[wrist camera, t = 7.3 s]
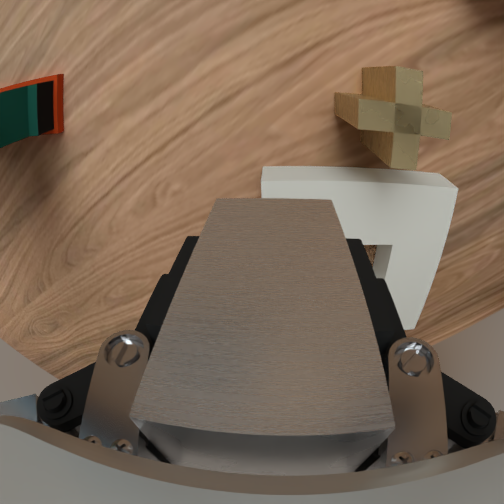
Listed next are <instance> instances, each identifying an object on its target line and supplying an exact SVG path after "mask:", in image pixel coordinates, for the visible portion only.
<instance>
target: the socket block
mask: <svg viewBox="0 0 504 504" xmlns="http://www.w3.org/2000/svg"><path fill="white" fill-rule="evenodd" d="M261 191H262V198H289V199H328V200H332V202H333V205H334V208H335V210H336V213H337V216H338V218H339V221H340V224H341V227H342V229H343V232H344V235H345V238H350V239H361V241H362V243H363V245H377V248H376V253H375V259H374V264H373V271H374V273H375V276H376V278H383V279H384V280H385V282H386V284H387V286H388V289H389V291H390V294H391V296H392V299H393V301H394V304H395V307H396V309H397V312H398V315H399V317H400V320H401V323H402V326H403V329H404V330H409V329H414V328H415V326H416V323H417V321H418V319H419V316H420V314H421V311H422V309H423V306H424V304H425V301H426V298H427V296H428V293H429V290H430V288H431V285H432V282H433V279H434V276H435V273H436V270H437V267H438V264H439V261H440V258H441V255H442V251H443V248H444V245H445V241H446V238H447V234H448V230H449V227H450V223H451V219H452V215H453V211H454V206H455V202H456V197H457V192H458V188H457V187H456V186H455V185H453V184H452V183H451V182H450V181H448V180H447V179H446V178H444V177H443V176H442V175H441V174H439V173H429V172H419V171H407V170H394V169H379V168H359V167H329V166H266V167H263V170H262V177H261Z"/></svg>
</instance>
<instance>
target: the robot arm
mask: <svg viewBox="0 0 504 504" xmlns="http://www.w3.org/2000/svg"><path fill="white" fill-rule="evenodd" d="M199 237H200V236H188V237H187V238H186V240H185V242H184V244H183V246H182V248H181V250H180V252H179V254H178V256H177V258H176V260H175V262H174V264H173V266H172V268H171V270H170V272H169V274H163V275H162V276H161V278H160V279H159V281H158V283H157V285H156V287H155V289H154V291H153V293H152V295H151V297H150V300H149V302H148V304H147V306H146V308H145V310H144V312H143V314H142V316H141V318H140V320H139V323H138V325H137V327H136V329H135V330H124V331H119V332H117V333H114V334H112V335H111V336H109V337H108V338H107V339H106V340H105V341H104V342H103V343H102V345H101V347H100V350H99V353H98V356H97V360H96V362H95V363H93V364H91V365H89V366H87V367H85V368H83V369H81V370H79V371H77V372H75V373H73V374H71V375H69V376H67V377H65V378H62V379H60V380H58V381H56V382H54V383H52V384H50V385H49V386H47V387H46V388H45V389H44V390H43V391H42V392H41V394H40V396H39V397H38V396H37V395H36V394H33V395H29V396H25V397H21V398H17V399H12V400H8V401H4V402H0V504H504V411H501V410H499V411H498V412H497V413H495V411H494V408H493V407H492V405H491V404H490V403H489V402H488V401H487V400H486V399H484V398H483V397H481V396H480V395H478V394H476V393H475V392H473V391H472V390H470V389H468V388H467V387H465V386H463V385H462V384H460V383H459V382H457V381H455V380H454V379H452V378H450V377H449V376H447V375H446V374H444V373H442V372H441V370H440V363H439V358H438V355H437V353H436V351H435V350H434V349H433V347H432V346H431V345H429V344H428V343H427V342H425V341H423V340H421V339H418V338H413V337H409V338H407V337H406V334H405V332H404V329H403V326H402V323H401V320H400V317H399V315H398V312H397V309H396V307H395V304H394V301H393V299H392V296H391V294H390V291H389V289H388V286H387V284H386V282H385V280H384V279H383V278H376V276H375V273H374V271H373V268H372V265H371V263H370V260H369V258H368V255H367V253H366V250H365V248H364V246H363V243H362V241H361V239H350V238H346V241H347V244H348V247H349V250H350V253H351V256H352V259H353V262H354V265H355V268H356V271H357V274H358V277H359V280H360V284H361V287H362V290H363V293H364V297H365V300H366V304H367V307H368V311H369V314H370V318H371V321H372V325H373V329H374V332H375V336H376V340H377V344H378V348H379V352H380V356H381V360H382V364H383V369H384V373H385V377H386V382H387V386H388V391H389V396H390V401H391V406H392V411H393V416H394V422H395V429H394V430H393V431H392V432H391V434H390V435H389V436H388V437H387V438H386V439H385V440H384V441H383V442H382V443H381V444H380V446H379V447H378V448H377V449H376V450H375V451H374V452H373V453H372V454H371V455H370V456H369V457H368V458H367V459H366V460H365V461H364V462H363V463H362V464H361V465H360V466H359V467H358V468H357V469H355V470H354V471H353V472H351V473H340V474H326V475H301V476H278V475H253V474H239V473H228V472H219V471H211V470H204V469H197V468H191V467H185V466H179V465H174V464H171V463H170V462H169V461H168V460H167V459H166V458H165V457H164V456H163V455H162V454H161V452H160V451H159V450H158V449H157V448H156V447H155V446H154V445H153V444H152V443H151V442H150V441H149V439H148V438H147V437H146V436H145V435H144V434H143V433H142V432H141V430H140V429H139V428H138V427H137V426H136V425H135V423H134V422H133V421H132V420H131V419H130V417H129V414H130V411H131V408H132V405H133V402H134V399H135V397H136V394H137V391H138V388H139V385H140V383H141V380H142V377H143V374H144V372H145V369H146V366H147V363H148V361H149V358H150V355H151V353H152V350H153V347H154V345H155V342H156V340H157V337H158V335H159V332H160V329H161V327H162V324H163V322H164V319H165V317H166V314H167V312H168V309H169V307H170V304H171V302H172V300H173V297H174V295H175V292H176V290H177V287H178V285H179V283H180V280H181V278H182V276H183V273H184V271H185V269H186V266H187V264H188V262H189V259H190V257H191V255H192V252H193V250H194V248H195V246H196V243H197V241H198V239H199Z"/></svg>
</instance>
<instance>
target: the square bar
mask: <svg viewBox="0 0 504 504" xmlns="http://www.w3.org/2000/svg"><path fill="white" fill-rule="evenodd" d="M129 417H130V419H131V420H132V421H133V422H134V423H135V425H136V426H137V427H138V428H139V429H140V430H141V432H142V433H143V434H144V435H145V436H146V437H147V438H148V439H149V441H150V442H151V443H152V444H153V445H154V446H155V447H156V448H157V449H158V450H159V451H160V452H161V454H162V455H163V456H164V457H165V458H166V459H167V460H168V461H169V462H170V463H171V464H174V465H179V466H185V467H191V468H197V469H204V470H211V471H219V472H228V473H239V474H253V475H278V476H301V475H326V474H340V473H351V472H353V471H354V470H355V469H357V468H358V467H359V466H360V465H361V464H362V463H363V462H364V461H365V460H366V459H367V458H368V457H369V456H370V455H371V454H372V453H373V452H374V451H375V450H376V449H377V448H378V447H379V446H380V444H381V443H382V442H383V441H384V440H385V439H386V438H387V437H388V436H389V435H390V434H391V432H392V431H393V430H394V429H395V422H394V416H393V411H392V406H391V401H390V396H389V391H388V386H387V382H386V377H385V373H384V369H383V364H382V360H381V356H380V352H379V348H378V344H377V340H376V336H375V332H374V329H373V325H372V321H371V318H370V314H369V311H368V307H367V304H366V300H365V297H364V293H363V290H362V287H361V284H360V280H359V277H358V274H357V271H356V268H355V265H354V262H353V259H352V256H351V253H350V250H349V247H348V244H347V241H346V238H345V235H344V232H343V229H342V227H341V224H340V221H339V218H338V216H337V213H336V210H335V208H334V205H333V202H332V200H328V199H289V198H217V199H216V202H215V204H214V206H213V208H212V210H211V212H210V214H209V217H208V219H207V221H206V223H205V225H204V228H203V230H202V232H201V234H200V237H199V239H198V241H197V243H196V246H195V248H194V250H193V252H192V255H191V257H190V259H189V262H188V264H187V266H186V269H185V271H184V273H183V276H182V278H181V280H180V283H179V285H178V287H177V290H176V292H175V295H174V297H173V300H172V302H171V304H170V307H169V309H168V312H167V314H166V317H165V319H164V322H163V324H162V327H161V329H160V332H159V335H158V337H157V340H156V342H155V345H154V347H153V350H152V353H151V355H150V358H149V361H148V363H147V366H146V369H145V372H144V374H143V377H142V380H141V383H140V385H139V388H138V391H137V394H136V397H135V399H134V402H133V405H132V408H131V411H130V414H129Z"/></svg>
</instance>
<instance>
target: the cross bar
mask: <svg viewBox="0 0 504 504" xmlns="http://www.w3.org/2000/svg"><path fill="white" fill-rule="evenodd" d="M422 95H423V71H419V70H414V69H409V68H403V67H398V66H385V67H365V68H362V94H354V93H340V92H335V114H336V115H337V116H339V117H340V118H342V119H343V120H345V121H346V122H348V123H350V124H351V125H352V126H354V127H355V128H357V129H361V143H363V144H364V145H365V146H366V147H367V148H369V149H370V150H371V151H372V152H373V153H374V154H375V155H377V156H378V157H379V158H380V159H381V160H382V161H383V162H385V163H386V164H387V165H388V166H389V167H390V168H397V169H409V170H416V166H417V158H418V150H419V140H420V136H427V137H434V138H440V139H446V140H449V137H450V127H451V115H452V113H451V112H448V111H444V110H441V109H438V108H435V107H431V106H428V105H425V104H422Z"/></svg>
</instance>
